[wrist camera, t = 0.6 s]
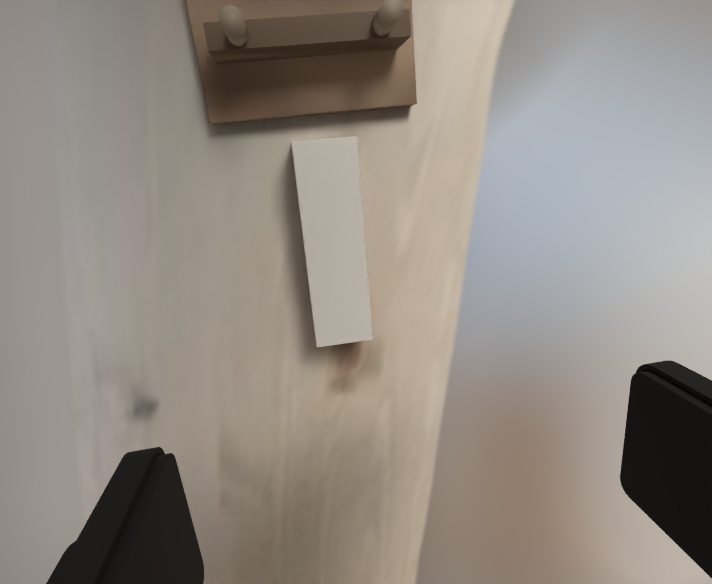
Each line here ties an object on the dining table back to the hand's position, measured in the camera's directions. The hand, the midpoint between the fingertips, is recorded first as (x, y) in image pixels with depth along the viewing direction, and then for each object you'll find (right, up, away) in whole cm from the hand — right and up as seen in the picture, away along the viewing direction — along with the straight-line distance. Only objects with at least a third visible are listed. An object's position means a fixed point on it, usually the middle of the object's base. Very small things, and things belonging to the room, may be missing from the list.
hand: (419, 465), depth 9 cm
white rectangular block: (-3, +7, +20) cm, 21 cm away
